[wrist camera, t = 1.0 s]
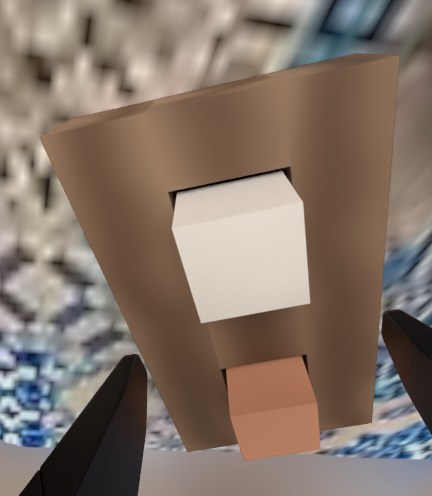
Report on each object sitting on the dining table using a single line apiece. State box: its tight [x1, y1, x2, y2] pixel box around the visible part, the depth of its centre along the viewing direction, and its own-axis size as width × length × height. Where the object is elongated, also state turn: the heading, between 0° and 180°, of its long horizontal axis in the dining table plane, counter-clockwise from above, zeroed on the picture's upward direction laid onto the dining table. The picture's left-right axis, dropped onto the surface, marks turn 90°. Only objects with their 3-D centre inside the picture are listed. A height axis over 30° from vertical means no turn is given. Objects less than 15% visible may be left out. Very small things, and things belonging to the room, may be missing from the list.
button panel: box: [39, 53, 400, 452], centre depth 21 cm, size 14×24×4 cm, turn 12°
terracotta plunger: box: [226, 355, 321, 461], centre depth 21 cm, size 5×5×4 cm
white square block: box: [172, 171, 310, 323], centre depth 15 cm, size 5×5×4 cm
